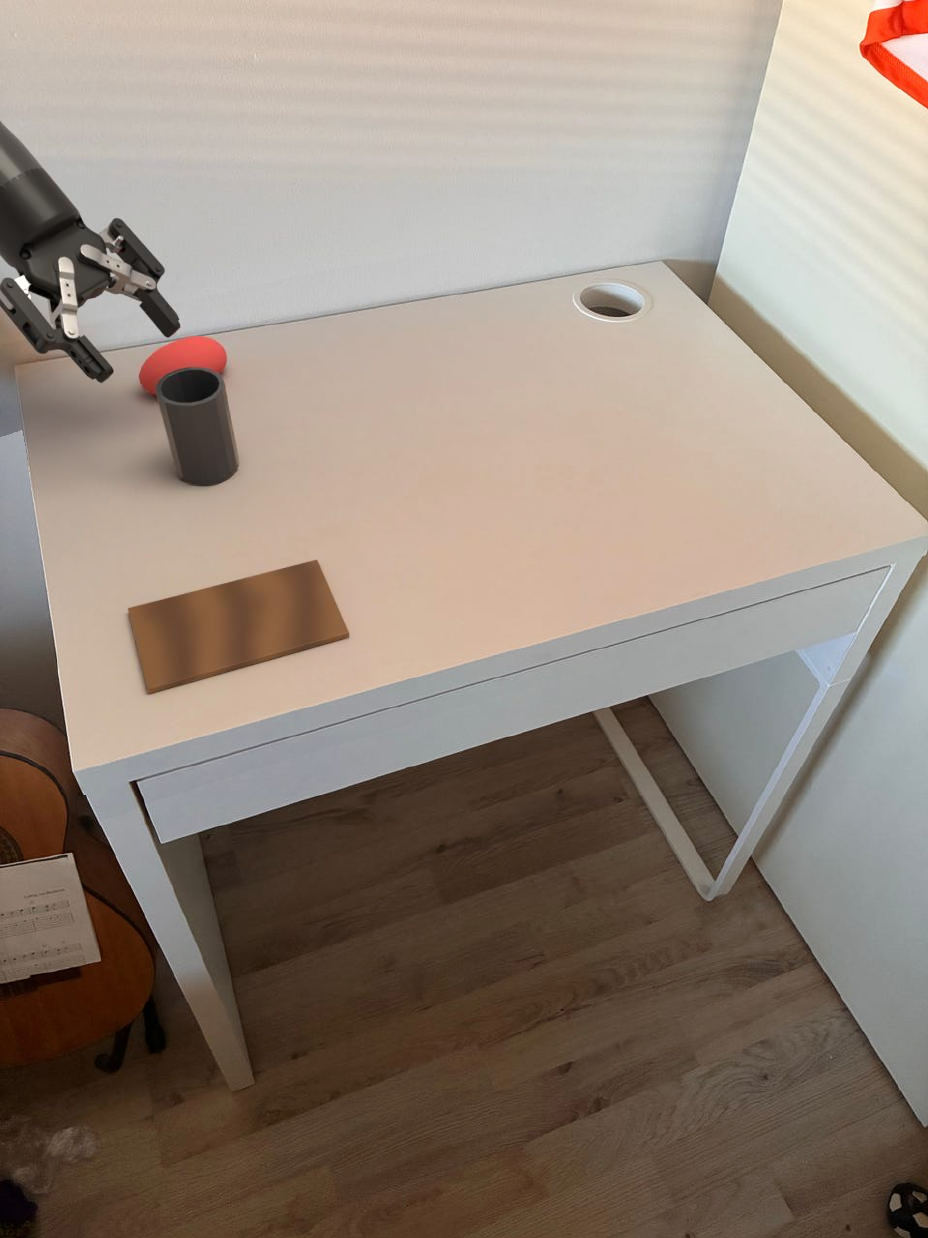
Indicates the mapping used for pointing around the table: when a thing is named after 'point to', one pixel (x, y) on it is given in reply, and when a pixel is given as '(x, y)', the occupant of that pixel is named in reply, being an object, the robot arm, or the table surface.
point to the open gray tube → (198, 425)
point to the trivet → (235, 625)
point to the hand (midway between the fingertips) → (142, 354)
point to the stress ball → (182, 359)
